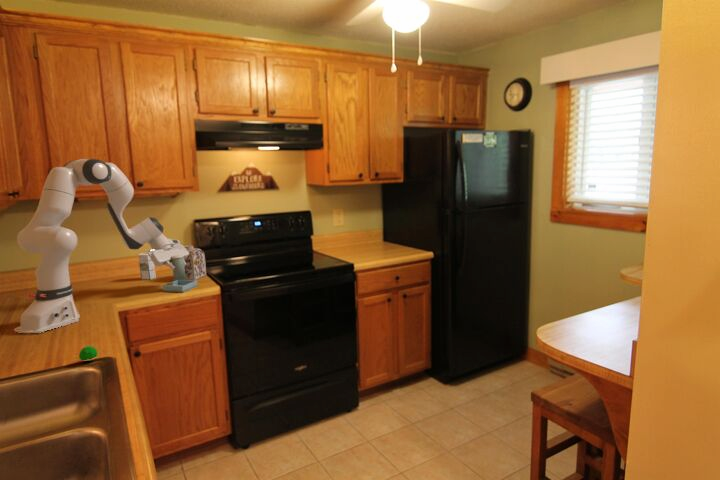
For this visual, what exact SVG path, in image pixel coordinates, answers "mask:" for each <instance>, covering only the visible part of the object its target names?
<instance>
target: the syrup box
mask: <svg viewBox="0 0 720 480" xmlns="http://www.w3.org/2000/svg"><path fill="white" fill-rule="evenodd" d="M137 258H138V264H139V273H140V280H142V281H143V280H144V281H145V280H147V281H150V280H153V279H155V278H156V276H157V275H156V270H155V269H156V268H155V264H154V263H153V262H152V260H151V258H150V256H149V255H148V252H141V253H139V254H138V255H137Z"/></svg>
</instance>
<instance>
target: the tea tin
mask: <svg viewBox="0 0 720 480" xmlns="http://www.w3.org/2000/svg"><path fill="white" fill-rule="evenodd" d="M183 257H184V255H176V256H172V257H171V258H172V263H171V264H172V265H175V267H176V268H175V269H174V270H172V275H173V280H174V281H176V280H183V279H185V278H186V277H185V267H184V258H183Z"/></svg>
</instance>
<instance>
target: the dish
mask: <svg viewBox="0 0 720 480" xmlns="http://www.w3.org/2000/svg"><path fill="white" fill-rule="evenodd" d="M198 286H199V285H198V279H197V280H174V281H171V282H168V283H165V284H163V285H162V291H163V292H167V293H169V292H170V293H185V292H188V291H190V290H193V289H195V288H196V287H197V288H198Z"/></svg>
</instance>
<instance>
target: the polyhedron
mask: <svg viewBox="0 0 720 480" xmlns="http://www.w3.org/2000/svg"><path fill="white" fill-rule="evenodd" d="M98 353H99V352H98V349H97V348H96V347H95V346H91V345H89V346H88V345H87V346H85V347H83V348H82V349H81V350H80V351H79V355H78V356H79V359H80V360H81V361H82V360H87V359H92V358H94V357H96V356H98V355H99V354H98ZM96 358H97V357H96Z"/></svg>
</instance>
